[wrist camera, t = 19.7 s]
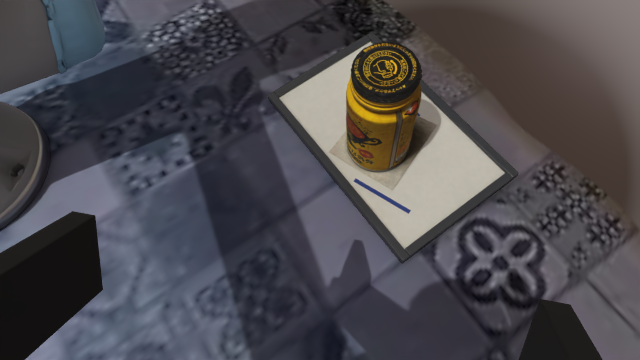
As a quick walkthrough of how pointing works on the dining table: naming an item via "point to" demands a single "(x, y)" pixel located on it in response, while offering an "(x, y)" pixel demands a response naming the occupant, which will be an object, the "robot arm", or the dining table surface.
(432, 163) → the whiteboard
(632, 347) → the dining table surface
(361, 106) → the condiment
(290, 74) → the dining table surface
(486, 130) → the dining table surface
